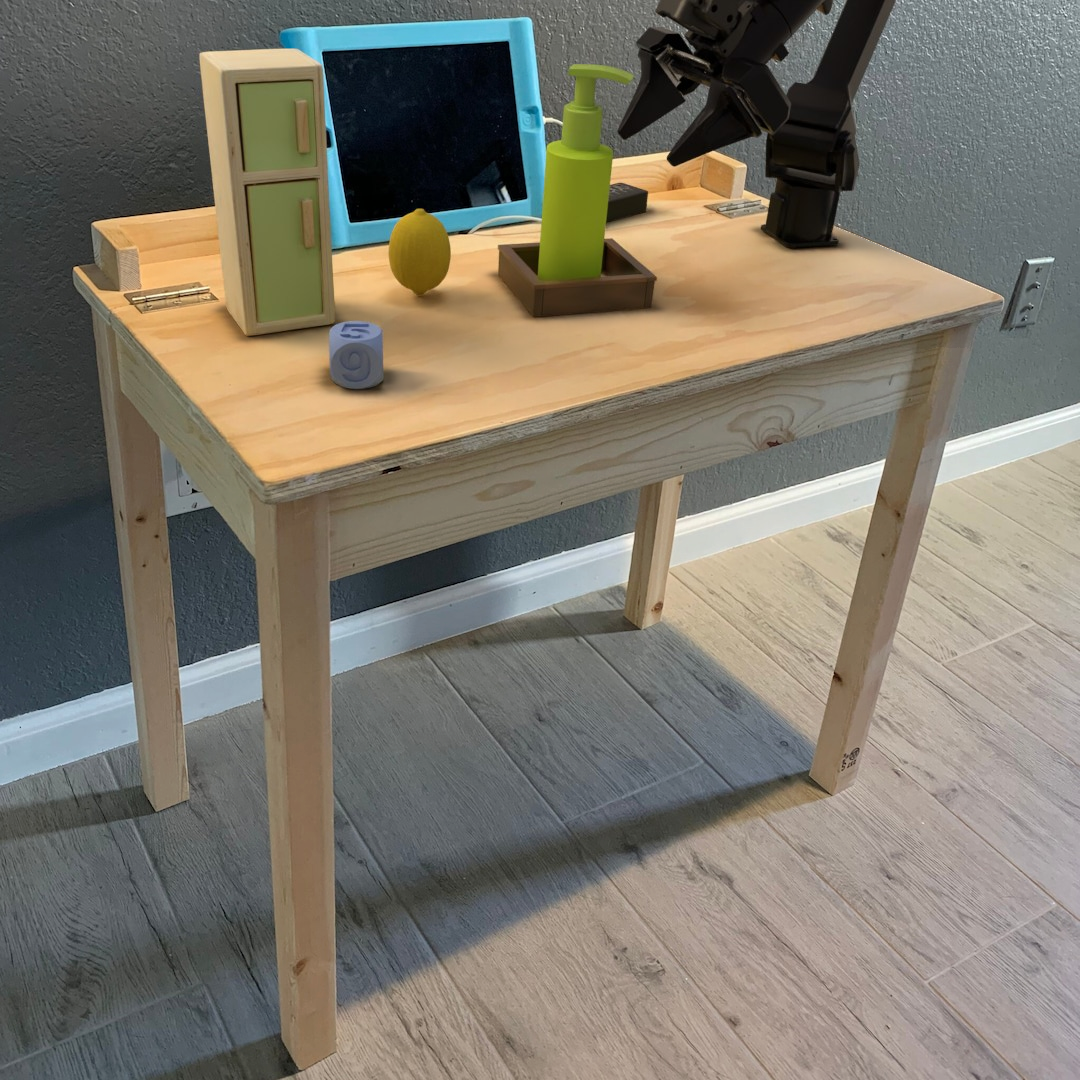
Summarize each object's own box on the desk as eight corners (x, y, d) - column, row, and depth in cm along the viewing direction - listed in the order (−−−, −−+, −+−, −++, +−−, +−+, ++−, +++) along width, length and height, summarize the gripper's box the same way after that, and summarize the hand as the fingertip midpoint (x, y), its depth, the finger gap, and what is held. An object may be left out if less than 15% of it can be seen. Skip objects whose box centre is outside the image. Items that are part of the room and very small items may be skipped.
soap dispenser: (603, 307, 104) (628, 79, 93) (530, 296, 105) (545, 69, 94) (614, 284, 109) (638, 64, 97) (544, 273, 110) (560, 54, 98)
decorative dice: (383, 367, 91) (382, 320, 88) (383, 389, 87) (382, 341, 85) (332, 367, 90) (330, 320, 88) (330, 389, 87) (328, 341, 84)
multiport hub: (647, 211, 130) (650, 190, 128) (582, 229, 123) (584, 207, 121) (618, 201, 132) (620, 181, 131) (553, 218, 125) (554, 197, 124)
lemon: (462, 297, 104) (464, 211, 100) (417, 312, 101) (417, 223, 96) (422, 280, 107) (422, 195, 103) (376, 293, 104) (374, 206, 99)
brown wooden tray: (609, 267, 113) (612, 238, 111) (653, 308, 105) (657, 276, 103) (496, 275, 110) (497, 244, 108) (532, 317, 101) (534, 285, 99)
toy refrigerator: (246, 341, 93) (222, 69, 82) (223, 309, 99) (197, 50, 87) (339, 328, 96) (328, 66, 85) (312, 298, 102) (298, 47, 90)
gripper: (666, -72, 102) (547, 62, 104) (785, -44, 88) (646, 109, 90) (727, 23, 109) (615, 146, 111) (846, 62, 95) (716, 202, 97)
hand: (644, 149), depth 102 cm, fingers open, 9 cm apart
